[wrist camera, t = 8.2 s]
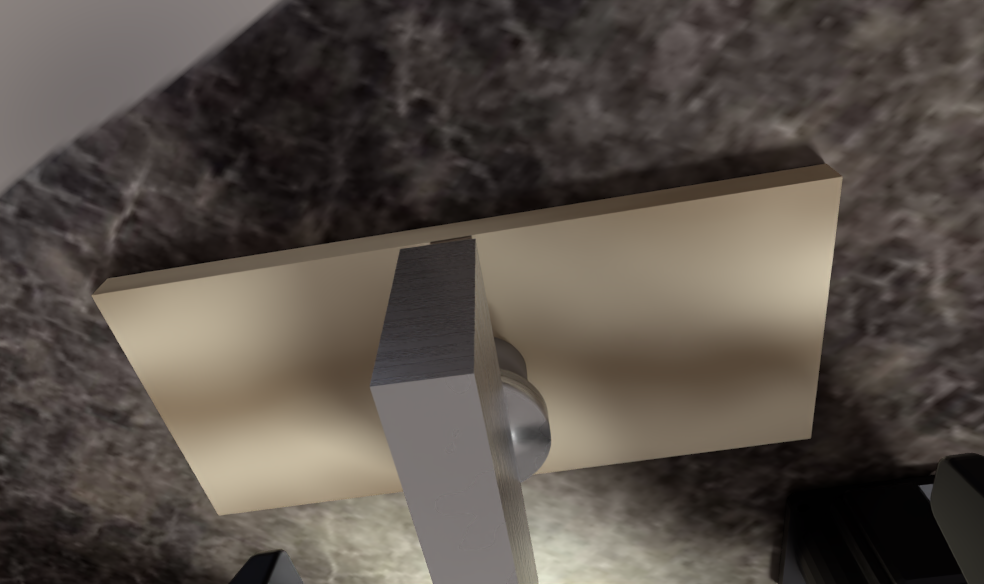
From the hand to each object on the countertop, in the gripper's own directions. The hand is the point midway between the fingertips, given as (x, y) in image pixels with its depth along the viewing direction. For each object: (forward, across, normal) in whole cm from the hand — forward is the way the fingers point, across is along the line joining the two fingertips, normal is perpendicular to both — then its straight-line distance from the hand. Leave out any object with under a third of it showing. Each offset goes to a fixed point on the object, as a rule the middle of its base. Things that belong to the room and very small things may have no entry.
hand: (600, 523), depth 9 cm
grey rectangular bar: (+9, +3, +6) cm, 11 cm away
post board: (+12, +3, +6) cm, 13 cm away
